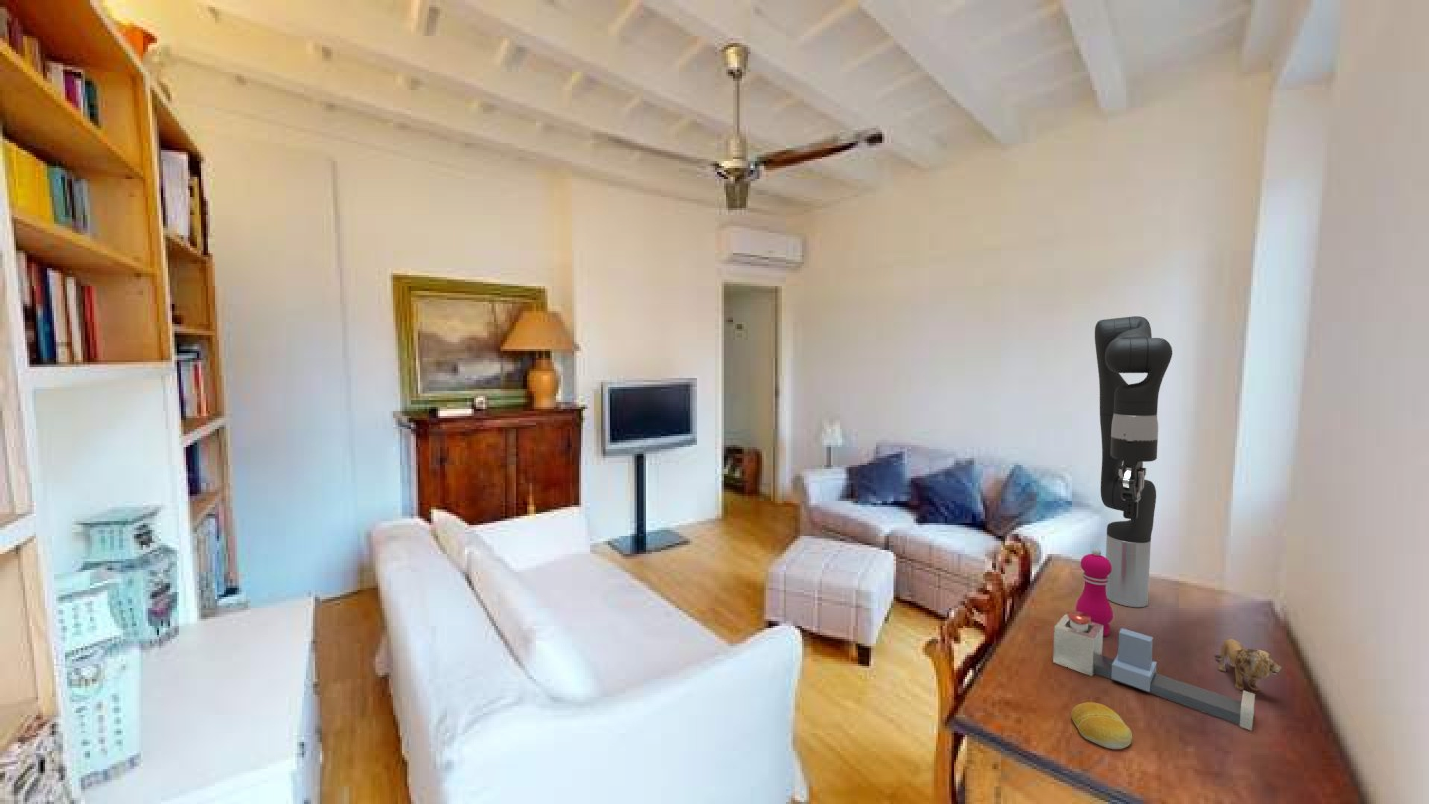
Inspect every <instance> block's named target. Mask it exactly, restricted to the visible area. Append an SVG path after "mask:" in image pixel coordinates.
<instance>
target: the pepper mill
mask: <svg viewBox="0 0 1429 804" xmlns="http://www.w3.org/2000/svg"><path fill="white" fill-rule="evenodd" d="M1080 569H1082V570H1083V572H1082V580H1083V581H1084V589H1083V590H1082V593H1081V595H1080V597H1079V598H1078V600H1077V602H1076V605H1075V611H1078V612H1082V613H1085V614H1087V615H1089V616H1090V617H1091V622H1094V623H1097V624H1101V625H1103V637H1107V636H1109V634H1110V632H1111V631H1110V630H1111V626H1110V624H1109V623H1111V622H1112V621H1113V619H1114V613H1113V609H1112V605H1111V604H1110V602H1109V600H1108V599H1107V596H1106V584H1108V583H1109V582H1108V580H1109V578H1108V575H1109V574H1110V573H1111V571H1112V566H1111V563H1110V561H1109V560H1108V559H1107V558H1106V556H1103V555H1102V551H1101V549H1099V548H1093V549H1092V550H1091V553H1088V554H1085V555H1083V556H1082V557H1081V560H1080Z"/></svg>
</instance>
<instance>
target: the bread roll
mask: <svg viewBox="0 0 1429 804" xmlns="http://www.w3.org/2000/svg"><path fill="white" fill-rule="evenodd" d="M1070 714H1071V719H1072V721H1073V724H1074V725H1075V726H1076V728H1077V730H1078V732H1079V733H1080V735H1081V736H1082V737H1083V738H1084V739H1085V740H1088V741H1090V742H1092V743H1094V744H1096V745H1099V746H1101V747H1104V748H1106V749H1110V750H1111V749H1112V750H1122V749H1125V748H1127V747H1129V746H1130V745H1131V744H1132V741H1133V733H1132V730H1131V729H1130V727H1129V726H1128V725H1126V724H1125V722H1124V721H1123V719H1122V717H1121V716H1120V715H1119V714H1118V713H1116V711H1115V710H1114V709H1112V708H1110V707H1108V706H1106V705H1105V704H1102V703H1097V702H1093V701H1088V702H1083V703H1079V704H1076V705H1075V706H1074V707H1072V710H1071V713H1070Z"/></svg>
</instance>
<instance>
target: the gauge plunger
mask: <svg viewBox="0 0 1429 804" xmlns="http://www.w3.org/2000/svg"><path fill="white" fill-rule="evenodd" d="M1067 615H1068V618H1069V619H1070V628H1072V629H1075V630H1078V631H1082V632H1085V633H1088V623H1090V622H1091V617H1090V616H1089V615H1087V614H1085V613H1082V612H1078V611H1076V610H1070V611H1068V612H1067Z"/></svg>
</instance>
